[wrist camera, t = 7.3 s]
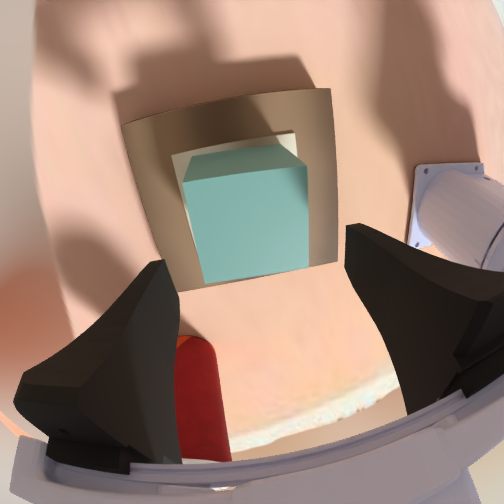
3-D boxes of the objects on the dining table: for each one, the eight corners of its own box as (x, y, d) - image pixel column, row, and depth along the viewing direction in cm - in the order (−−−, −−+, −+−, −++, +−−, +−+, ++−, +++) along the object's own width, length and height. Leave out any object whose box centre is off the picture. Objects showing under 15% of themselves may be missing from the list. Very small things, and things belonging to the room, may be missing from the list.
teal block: (280, 144, 15) (307, 165, 11) (286, 222, 18) (308, 267, 14) (191, 156, 15) (182, 182, 11) (206, 234, 18) (205, 283, 13)
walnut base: (313, 88, 16) (331, 88, 14) (324, 241, 23) (338, 262, 20) (134, 120, 16) (119, 126, 13) (178, 269, 22) (174, 294, 20)
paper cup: (142, 329, 25) (122, 470, 13) (222, 325, 26) (236, 474, 14) (161, 375, 29) (156, 490, 17) (228, 372, 30) (241, 490, 18)
